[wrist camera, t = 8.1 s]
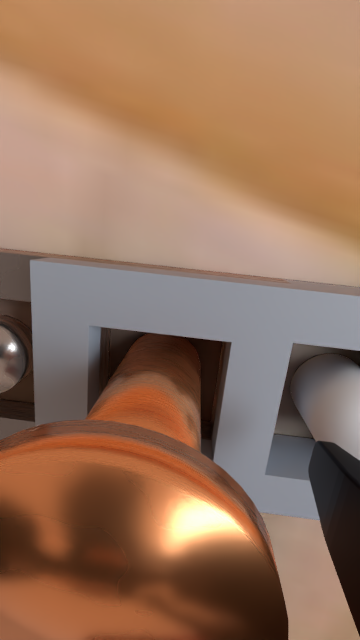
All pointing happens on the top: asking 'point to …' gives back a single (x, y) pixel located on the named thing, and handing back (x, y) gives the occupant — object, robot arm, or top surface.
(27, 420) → the lower chain end
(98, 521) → the pin
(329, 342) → the frame
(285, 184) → the top surface
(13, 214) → the top surface
